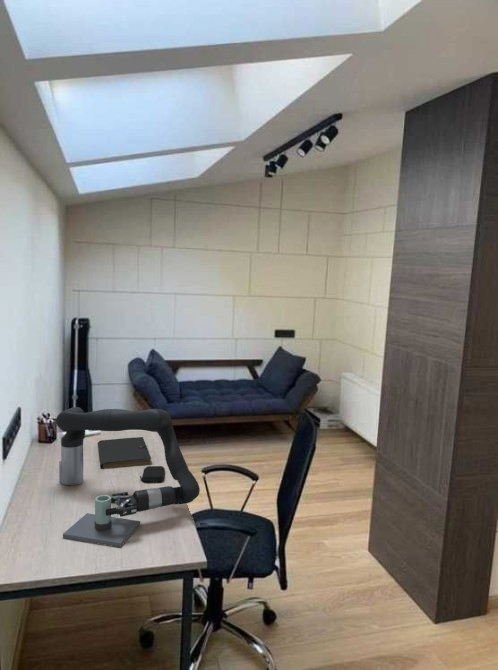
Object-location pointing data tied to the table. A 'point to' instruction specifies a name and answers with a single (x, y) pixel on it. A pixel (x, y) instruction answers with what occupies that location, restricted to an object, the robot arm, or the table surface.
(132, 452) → the dark grey book
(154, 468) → the carrying case or bag
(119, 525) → the pin board
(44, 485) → the table surface
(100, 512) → the sleeve
